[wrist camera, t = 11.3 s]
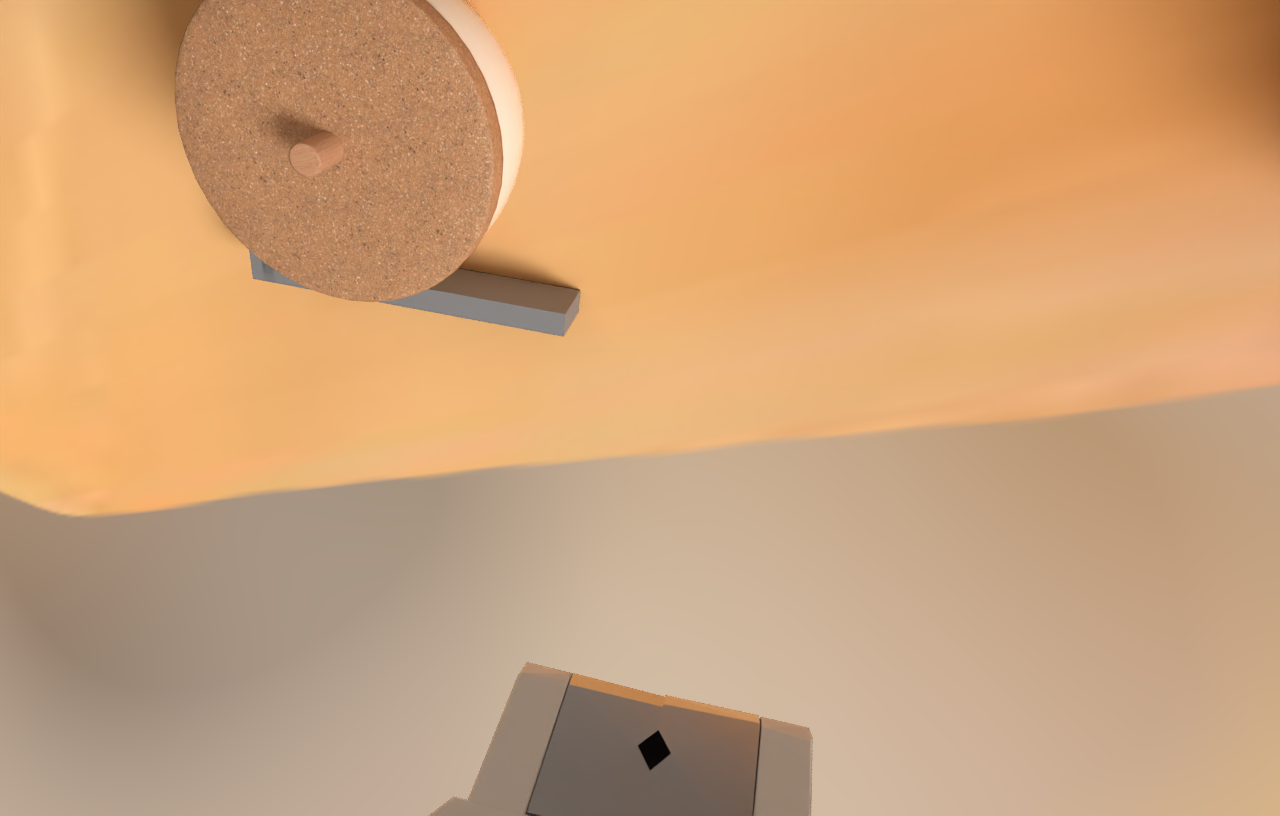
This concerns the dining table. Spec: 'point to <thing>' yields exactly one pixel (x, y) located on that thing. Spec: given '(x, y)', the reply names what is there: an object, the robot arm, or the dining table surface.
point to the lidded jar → (351, 136)
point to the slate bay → (479, 299)
